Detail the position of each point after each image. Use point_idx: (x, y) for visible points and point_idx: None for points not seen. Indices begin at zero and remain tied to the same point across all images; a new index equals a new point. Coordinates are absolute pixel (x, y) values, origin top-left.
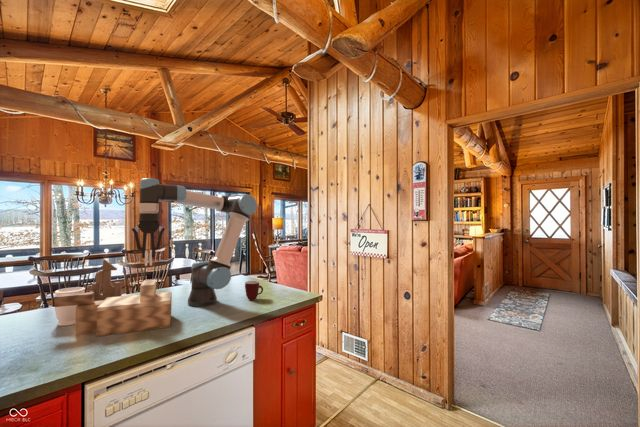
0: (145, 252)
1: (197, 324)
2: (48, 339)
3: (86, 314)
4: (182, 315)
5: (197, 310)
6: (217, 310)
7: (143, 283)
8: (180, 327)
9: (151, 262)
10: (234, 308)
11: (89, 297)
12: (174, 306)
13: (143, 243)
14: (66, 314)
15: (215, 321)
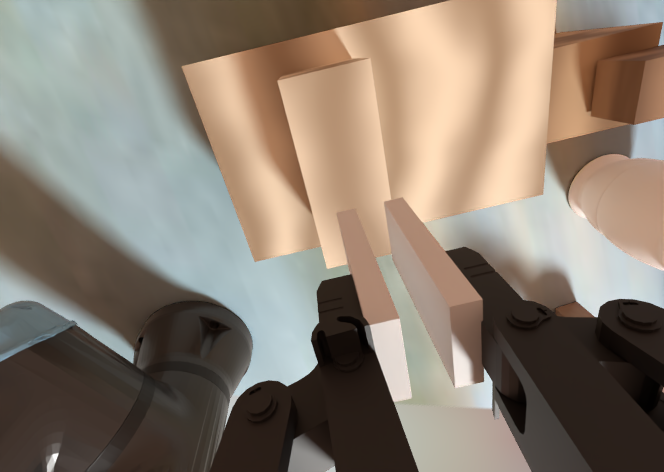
0: (462, 285)
1: (97, 73)
2: (637, 8)
3: (579, 36)
4: (219, 207)
5: (180, 259)
6: (90, 249)
7: (372, 145)
8: (162, 46)
9: (341, 227)
10: (21, 265)
11: (639, 58)
12: (292, 313)
13: (647, 453)
14: (642, 160)
15: (25, 101)
